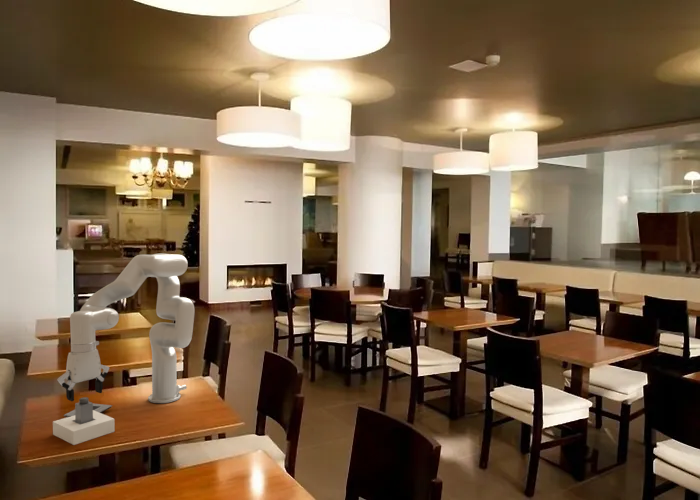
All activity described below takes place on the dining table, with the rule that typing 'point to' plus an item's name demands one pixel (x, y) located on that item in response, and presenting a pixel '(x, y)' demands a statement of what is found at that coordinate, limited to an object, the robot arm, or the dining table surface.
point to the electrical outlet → (96, 407)
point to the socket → (83, 428)
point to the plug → (83, 411)
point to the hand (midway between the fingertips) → (85, 396)
